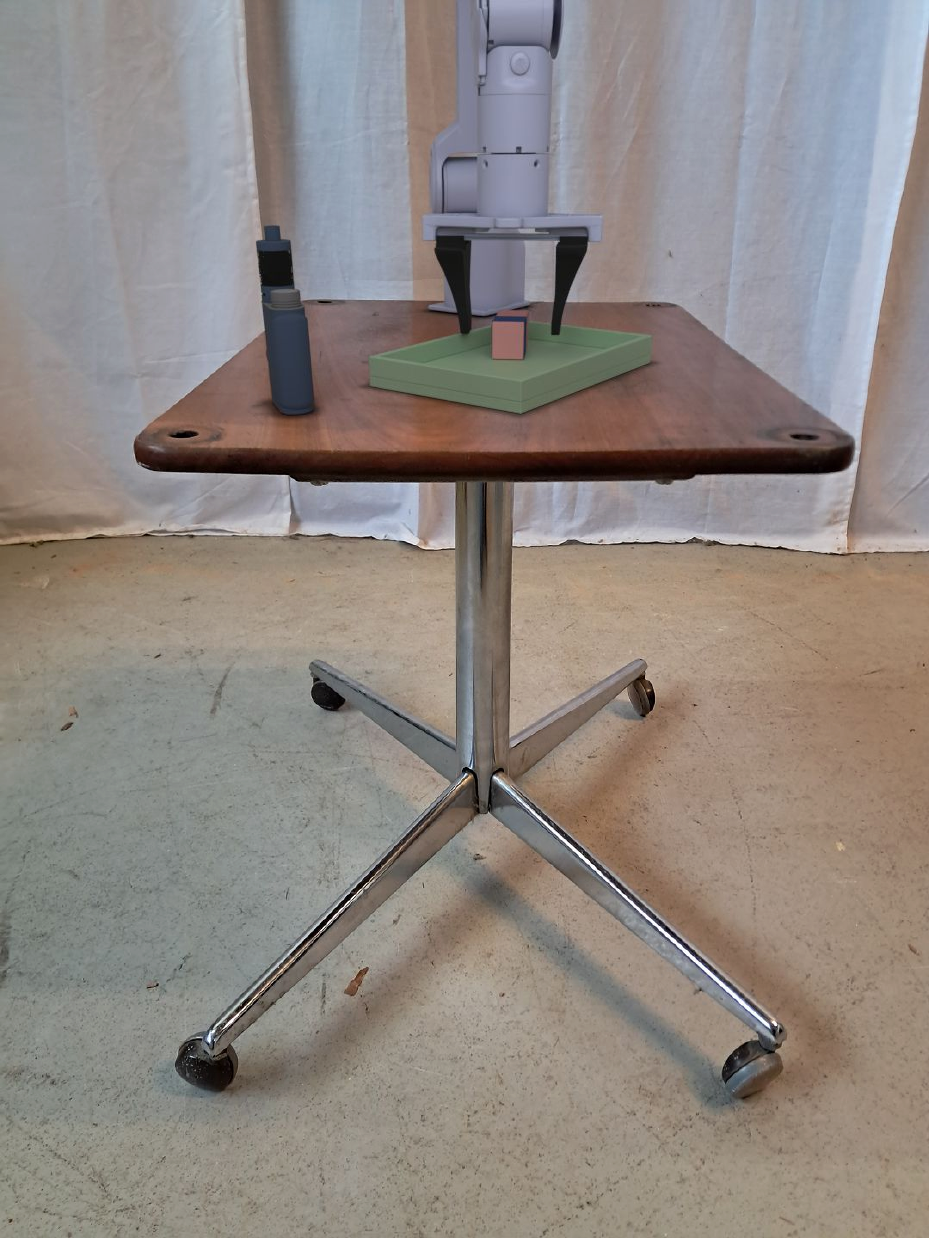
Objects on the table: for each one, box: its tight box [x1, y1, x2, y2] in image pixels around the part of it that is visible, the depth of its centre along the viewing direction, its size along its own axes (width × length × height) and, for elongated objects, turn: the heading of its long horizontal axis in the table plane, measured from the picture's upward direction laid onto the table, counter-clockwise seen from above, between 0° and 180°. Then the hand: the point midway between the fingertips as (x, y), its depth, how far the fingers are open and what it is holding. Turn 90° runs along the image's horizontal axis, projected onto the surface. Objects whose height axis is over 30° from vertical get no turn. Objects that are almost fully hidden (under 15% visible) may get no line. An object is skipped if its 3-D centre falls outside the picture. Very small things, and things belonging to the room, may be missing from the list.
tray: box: [368, 320, 653, 415], centre depth 75 cm, size 20×14×2 cm
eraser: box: [491, 309, 530, 360], centre depth 78 cm, size 6×3×3 cm, turn 172°
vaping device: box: [255, 224, 315, 416], centre depth 64 cm, size 3×5×12 cm, turn 21°
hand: (510, 332), depth 78 cm, fingers open, 7 cm apart
